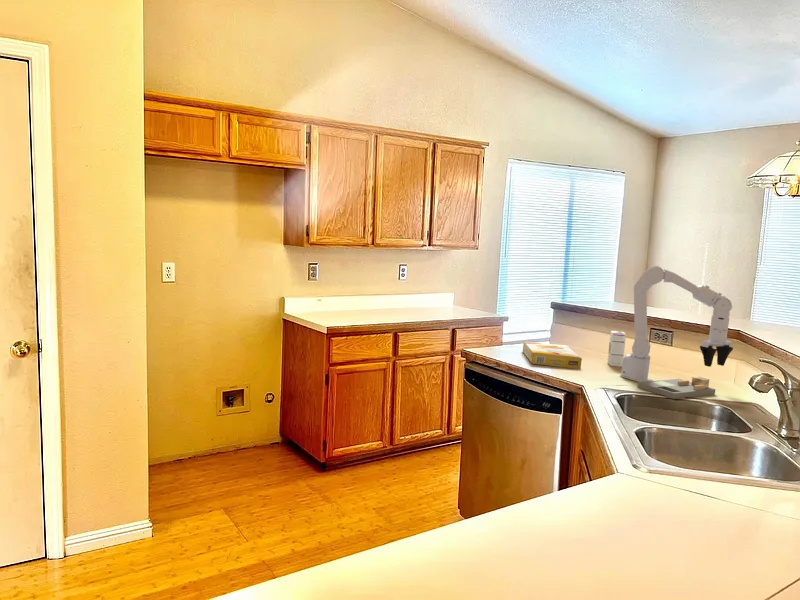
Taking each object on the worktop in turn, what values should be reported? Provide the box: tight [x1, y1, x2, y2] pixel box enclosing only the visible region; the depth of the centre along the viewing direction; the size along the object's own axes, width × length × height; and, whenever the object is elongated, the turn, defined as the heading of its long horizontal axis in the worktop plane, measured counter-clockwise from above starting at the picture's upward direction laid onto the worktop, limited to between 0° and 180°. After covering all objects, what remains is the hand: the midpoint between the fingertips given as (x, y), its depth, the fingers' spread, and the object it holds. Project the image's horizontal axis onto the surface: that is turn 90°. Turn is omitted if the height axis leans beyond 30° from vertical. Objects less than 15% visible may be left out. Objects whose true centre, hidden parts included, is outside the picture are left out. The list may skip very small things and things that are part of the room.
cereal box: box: [522, 341, 583, 369], centre depth 255 cm, size 20×6×28 cm
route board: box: [637, 378, 716, 400], centre depth 213 cm, size 15×22×4 cm
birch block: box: [691, 376, 710, 388], centre depth 215 cm, size 4×4×3 cm
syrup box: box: [607, 330, 627, 368], centre depth 252 cm, size 6×6×14 cm
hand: (714, 365), depth 217 cm, fingers open, 7 cm apart
